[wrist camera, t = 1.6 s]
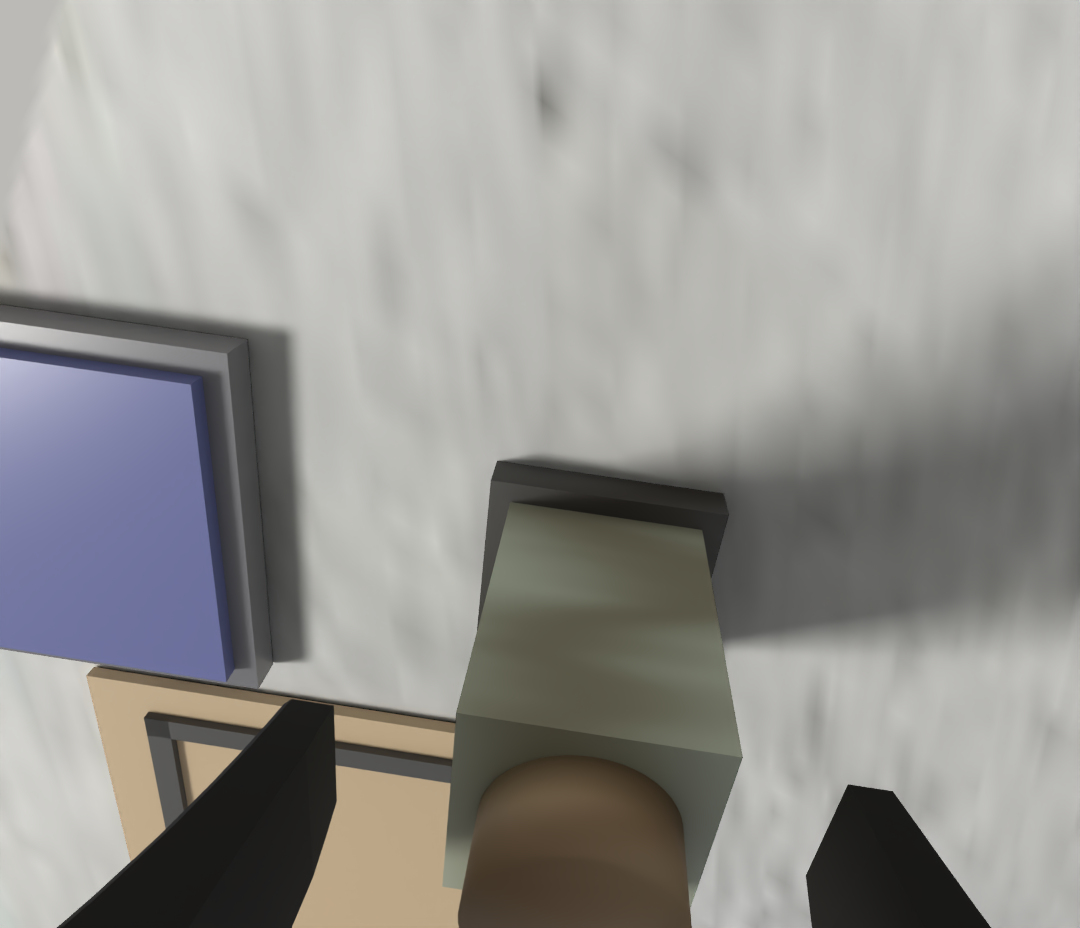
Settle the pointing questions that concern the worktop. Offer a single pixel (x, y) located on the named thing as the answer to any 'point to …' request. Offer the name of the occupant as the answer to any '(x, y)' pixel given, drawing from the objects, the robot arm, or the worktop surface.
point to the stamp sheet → (361, 784)
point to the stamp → (591, 707)
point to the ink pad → (130, 498)
